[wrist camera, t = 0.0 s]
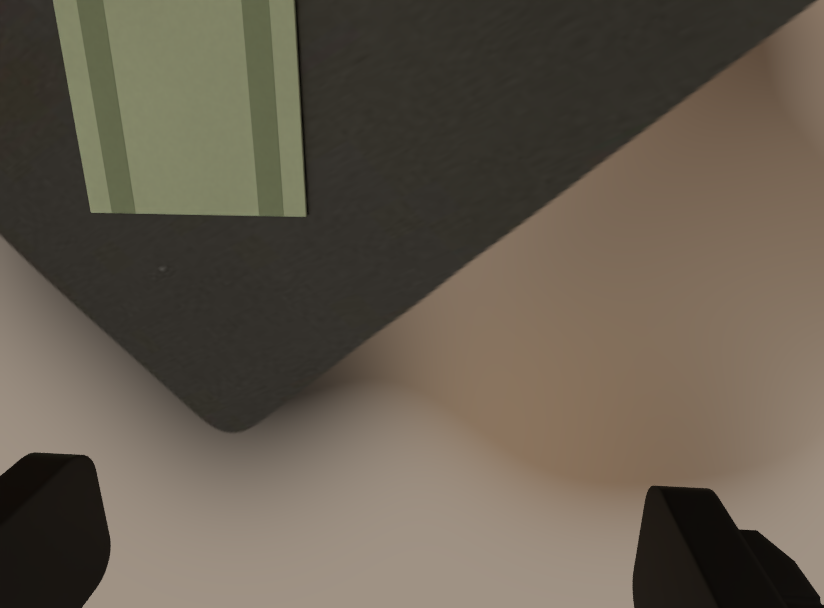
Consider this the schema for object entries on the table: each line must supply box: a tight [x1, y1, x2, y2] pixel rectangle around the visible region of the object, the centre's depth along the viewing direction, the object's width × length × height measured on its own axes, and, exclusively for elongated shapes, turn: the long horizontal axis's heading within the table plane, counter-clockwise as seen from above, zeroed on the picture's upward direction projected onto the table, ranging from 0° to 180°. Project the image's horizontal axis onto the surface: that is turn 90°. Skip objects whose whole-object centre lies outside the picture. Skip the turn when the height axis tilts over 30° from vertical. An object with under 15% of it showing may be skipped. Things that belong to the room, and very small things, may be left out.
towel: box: [53, 0, 307, 217], centre depth 35 cm, size 15×14×1 cm
